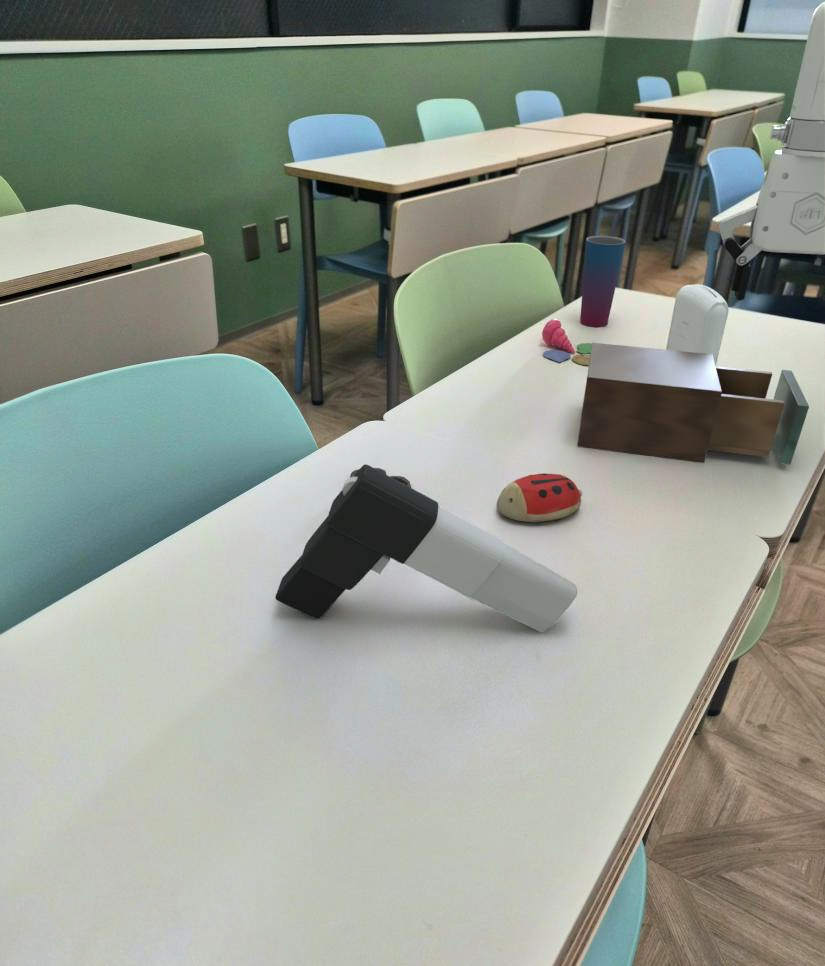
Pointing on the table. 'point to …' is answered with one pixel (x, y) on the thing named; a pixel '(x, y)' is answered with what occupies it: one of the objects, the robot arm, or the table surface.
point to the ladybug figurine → (539, 498)
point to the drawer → (758, 414)
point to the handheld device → (417, 554)
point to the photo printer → (698, 321)
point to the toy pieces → (563, 344)
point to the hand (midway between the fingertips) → (782, 299)
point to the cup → (600, 278)
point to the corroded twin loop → (398, 478)
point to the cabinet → (649, 402)
